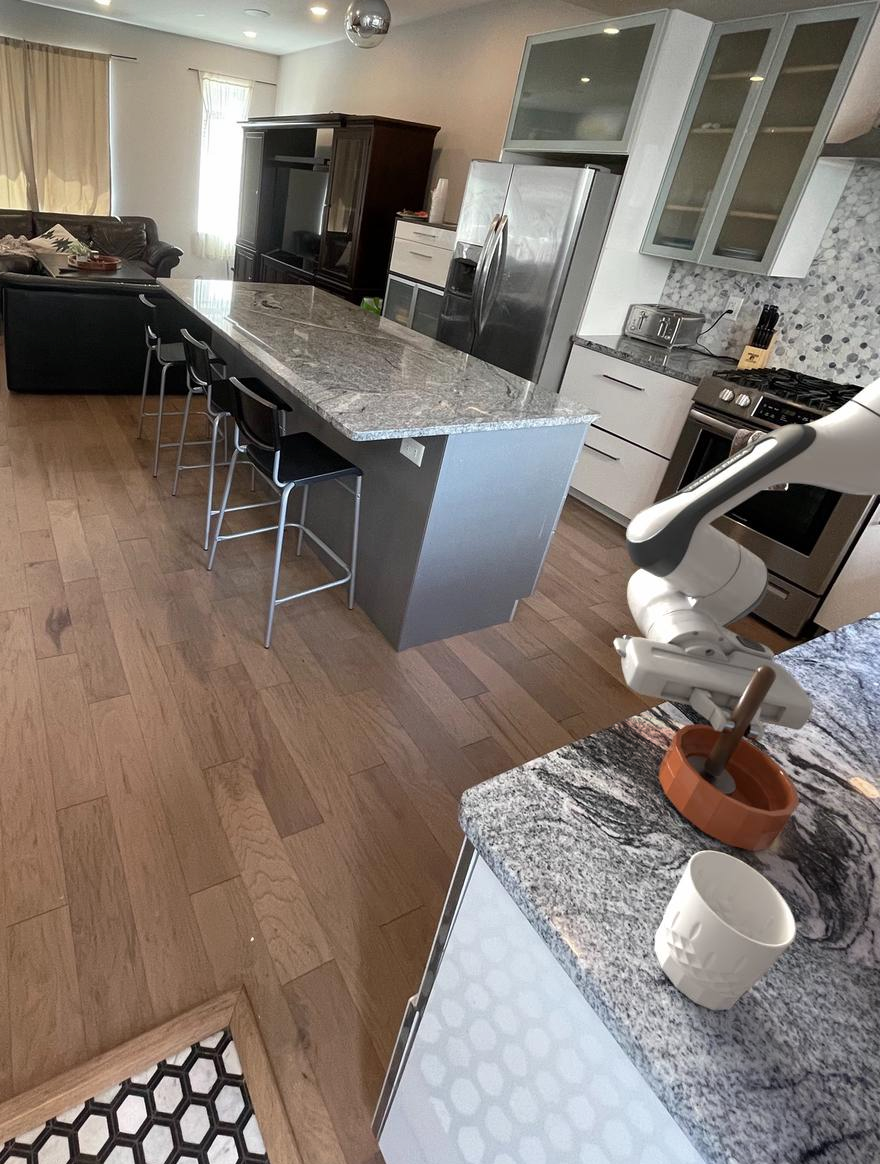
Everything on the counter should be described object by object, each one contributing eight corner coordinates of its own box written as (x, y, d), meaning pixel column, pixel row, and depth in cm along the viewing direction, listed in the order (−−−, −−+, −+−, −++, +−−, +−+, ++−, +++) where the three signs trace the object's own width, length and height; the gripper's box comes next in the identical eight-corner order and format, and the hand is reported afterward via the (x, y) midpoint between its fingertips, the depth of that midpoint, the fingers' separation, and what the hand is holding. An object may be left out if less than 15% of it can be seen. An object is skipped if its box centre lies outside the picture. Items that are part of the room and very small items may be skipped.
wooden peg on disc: (717, 773, 76) (782, 657, 69) (736, 810, 71) (808, 690, 64) (672, 762, 77) (732, 646, 70) (689, 798, 72) (755, 678, 65)
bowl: (743, 773, 79) (763, 738, 76) (797, 866, 67) (823, 828, 65) (643, 750, 80) (660, 714, 78) (679, 837, 69) (701, 798, 66)
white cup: (649, 903, 61) (688, 833, 57) (741, 955, 58) (790, 885, 54) (644, 979, 55) (688, 906, 51) (747, 1043, 51) (803, 970, 48)
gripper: (618, 614, 82) (654, 687, 69) (782, 649, 80) (851, 732, 67) (602, 652, 84) (634, 730, 72) (761, 688, 82) (824, 774, 70)
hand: (741, 731), depth 69 cm, fingers closed on wooden peg on disc
